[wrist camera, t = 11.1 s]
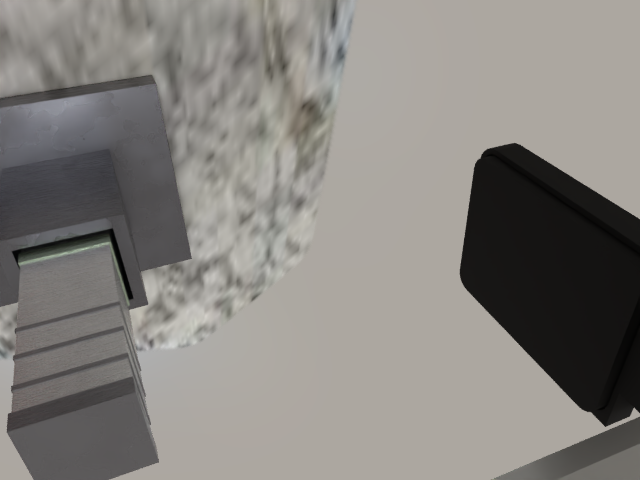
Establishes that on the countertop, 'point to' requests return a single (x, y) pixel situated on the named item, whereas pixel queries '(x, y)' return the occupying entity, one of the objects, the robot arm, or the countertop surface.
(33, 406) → the post
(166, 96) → the countertop surface
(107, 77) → the countertop surface
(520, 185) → the robot arm
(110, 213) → the stand
